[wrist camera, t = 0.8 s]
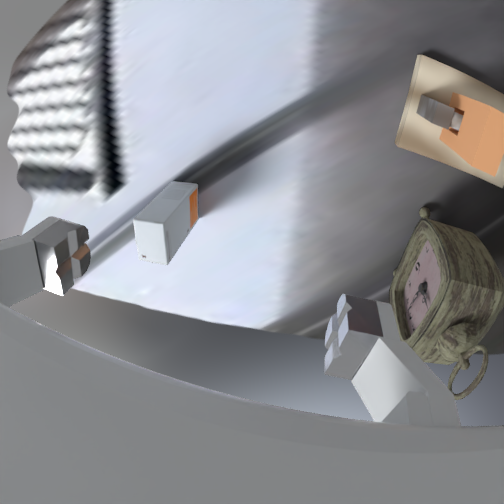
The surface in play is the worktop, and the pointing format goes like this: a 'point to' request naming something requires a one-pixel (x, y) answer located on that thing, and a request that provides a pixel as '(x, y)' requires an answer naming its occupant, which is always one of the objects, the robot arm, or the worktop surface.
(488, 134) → the orange rectangular block
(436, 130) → the rod stand
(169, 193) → the skincare box
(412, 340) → the tabletop clock
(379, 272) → the worktop surface
